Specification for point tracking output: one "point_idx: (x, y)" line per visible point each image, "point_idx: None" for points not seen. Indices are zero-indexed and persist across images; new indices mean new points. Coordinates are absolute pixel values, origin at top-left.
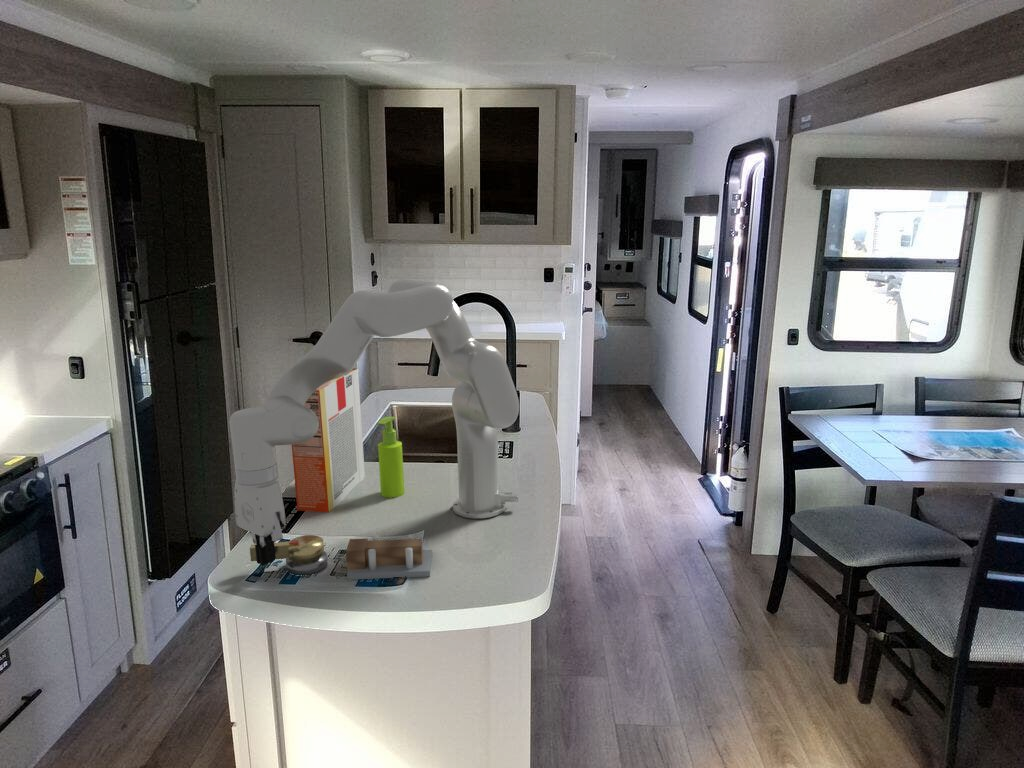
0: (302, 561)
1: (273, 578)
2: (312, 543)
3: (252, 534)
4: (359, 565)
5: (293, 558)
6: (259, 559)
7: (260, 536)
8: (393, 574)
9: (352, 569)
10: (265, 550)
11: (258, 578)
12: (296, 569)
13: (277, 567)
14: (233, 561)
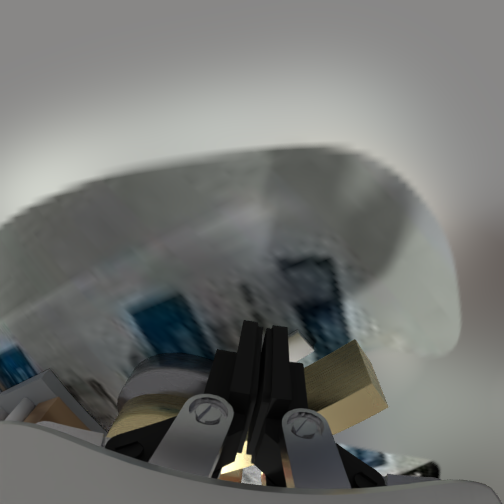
0: (136, 398)
1: (231, 313)
2: None
3: (326, 466)
4: (39, 407)
5: (165, 402)
6: (267, 341)
7: (201, 463)
8: (5, 392)
9: (52, 398)
10: (210, 386)
11: (289, 291)
12: (159, 369)
13: None
14: (457, 336)
